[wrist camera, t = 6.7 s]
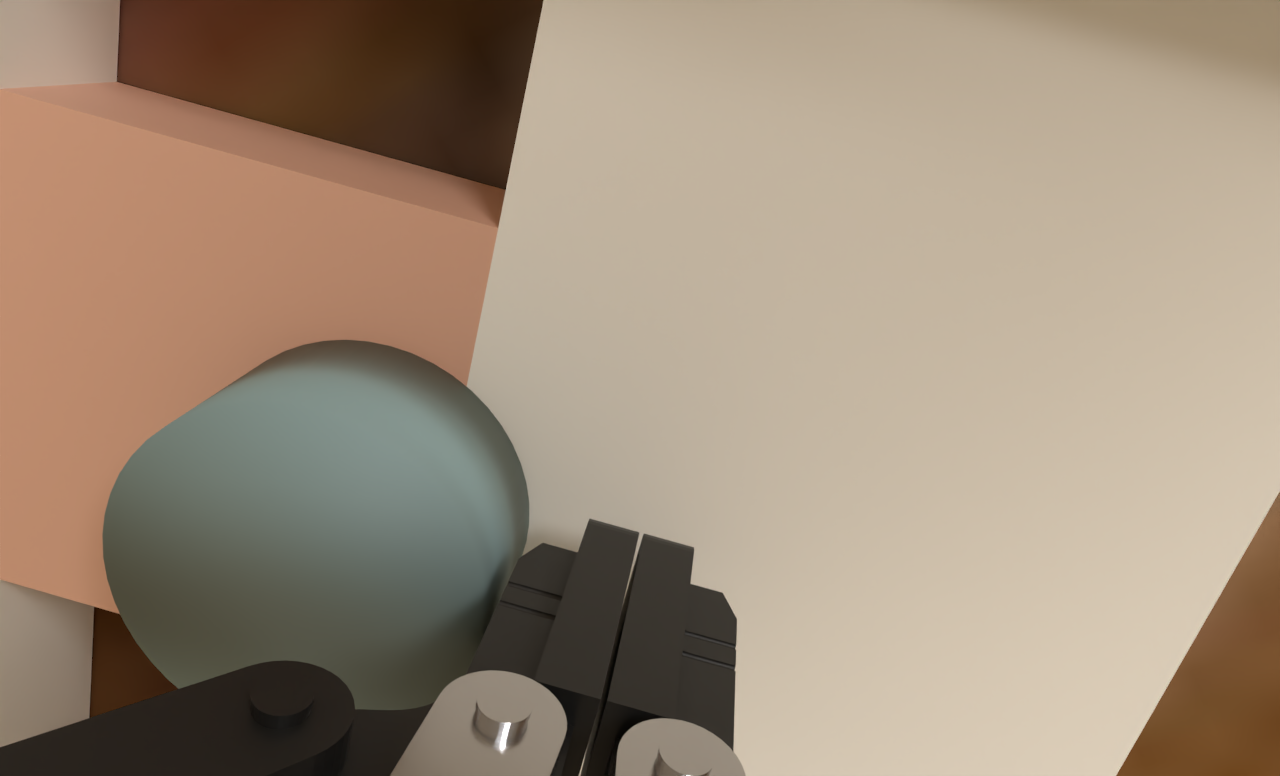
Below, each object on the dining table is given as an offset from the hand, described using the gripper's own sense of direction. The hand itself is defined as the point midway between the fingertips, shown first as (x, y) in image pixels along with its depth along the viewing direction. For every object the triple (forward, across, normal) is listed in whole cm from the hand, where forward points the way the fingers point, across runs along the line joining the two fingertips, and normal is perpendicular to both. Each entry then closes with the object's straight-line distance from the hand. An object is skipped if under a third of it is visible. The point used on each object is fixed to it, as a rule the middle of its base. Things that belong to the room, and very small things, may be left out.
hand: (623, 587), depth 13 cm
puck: (+1, +4, 0) cm, 4 cm away
